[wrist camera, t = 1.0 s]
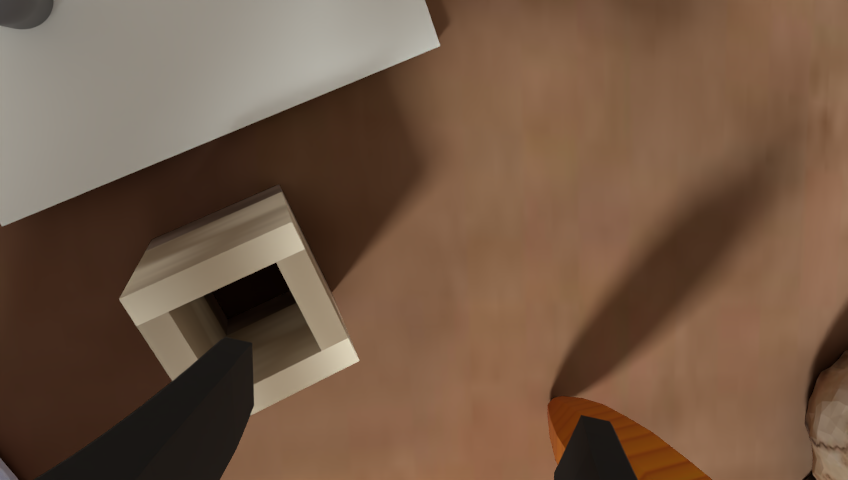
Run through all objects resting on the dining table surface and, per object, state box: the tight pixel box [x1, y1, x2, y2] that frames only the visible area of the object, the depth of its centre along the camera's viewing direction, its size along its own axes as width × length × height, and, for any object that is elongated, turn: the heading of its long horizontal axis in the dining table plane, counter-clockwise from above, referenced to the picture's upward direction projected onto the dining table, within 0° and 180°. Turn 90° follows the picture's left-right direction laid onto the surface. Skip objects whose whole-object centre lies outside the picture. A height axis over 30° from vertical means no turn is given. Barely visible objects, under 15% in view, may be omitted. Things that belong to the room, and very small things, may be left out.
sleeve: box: [119, 185, 359, 415], centre depth 19 cm, size 5×5×6 cm
